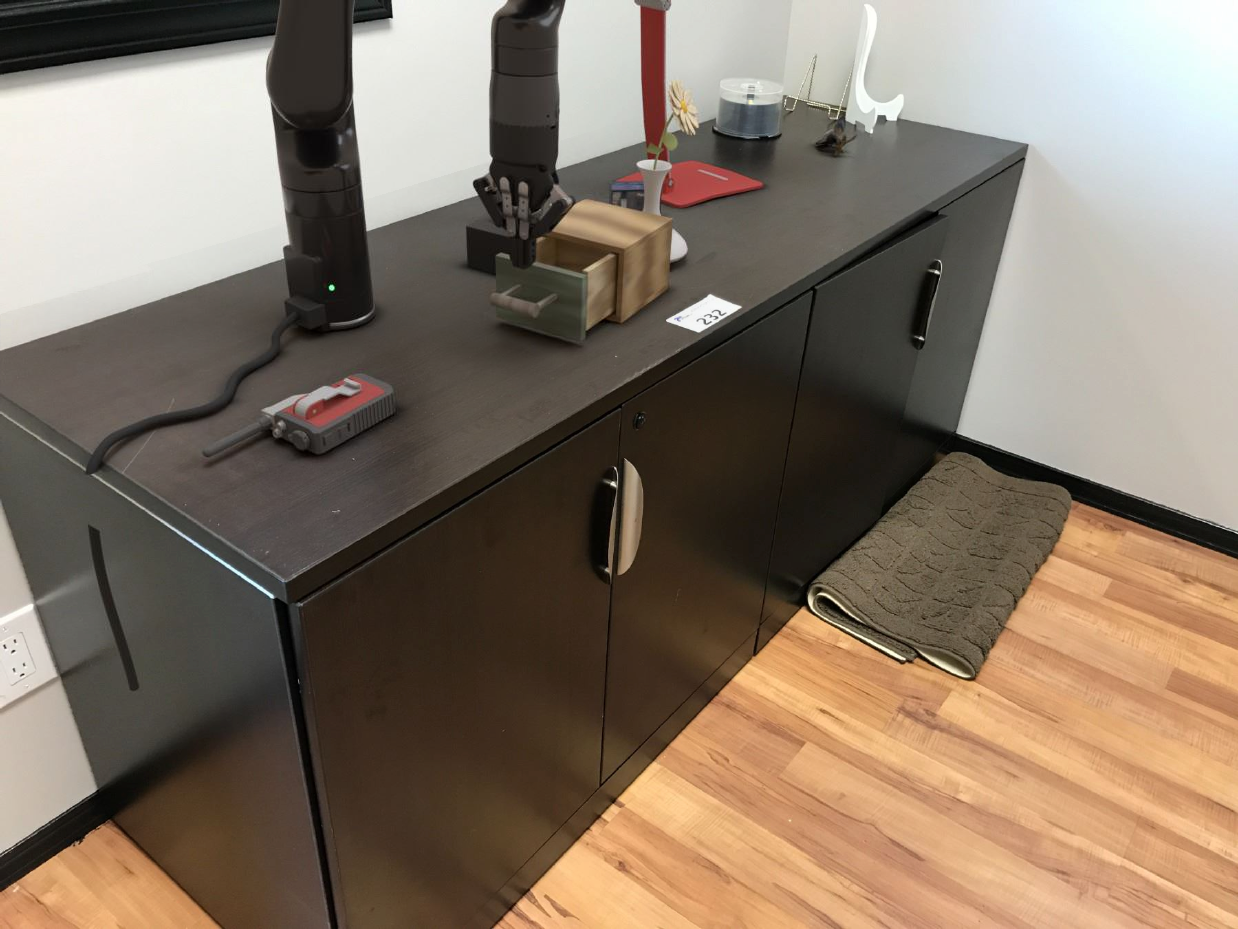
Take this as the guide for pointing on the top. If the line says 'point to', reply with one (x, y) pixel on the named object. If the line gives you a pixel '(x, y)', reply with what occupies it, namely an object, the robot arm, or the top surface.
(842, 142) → the eagle figurine
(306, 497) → the top surface
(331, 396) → the walkie-talkie
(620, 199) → the mini dv tape
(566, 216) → the cabinet
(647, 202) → the flower in vase
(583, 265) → the drawer
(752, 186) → the desk lamp
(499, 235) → the small black box
